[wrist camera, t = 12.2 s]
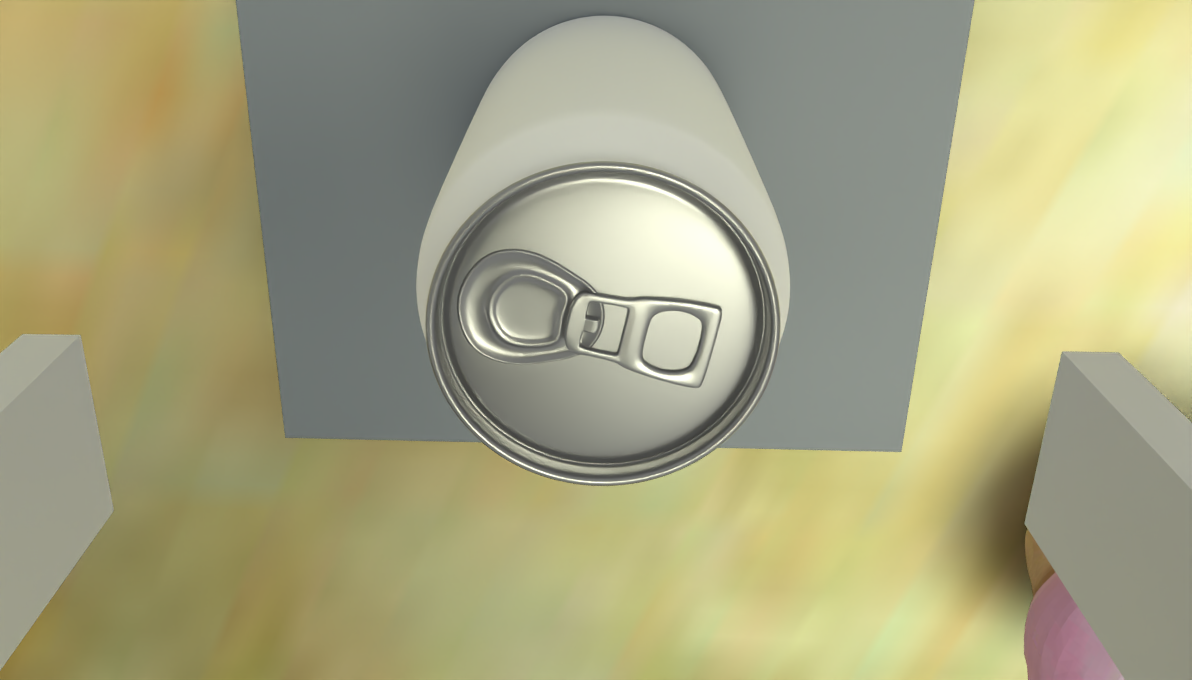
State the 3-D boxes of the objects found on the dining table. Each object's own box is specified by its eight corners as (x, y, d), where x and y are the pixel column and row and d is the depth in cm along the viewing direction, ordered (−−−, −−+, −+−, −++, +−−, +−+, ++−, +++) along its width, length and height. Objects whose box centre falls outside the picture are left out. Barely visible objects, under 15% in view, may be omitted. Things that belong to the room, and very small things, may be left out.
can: (502, -15, 26) (429, 90, 16) (759, 42, 27) (863, 184, 16) (459, 232, 29) (372, 470, 18) (694, 280, 30) (746, 539, 19)
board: (295, 417, 33) (285, 437, 32) (223, -262, 25) (205, -265, 24) (891, 431, 33) (901, 451, 32) (996, -243, 25) (1014, -246, 24)
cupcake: (1288, 546, 35) (1530, 799, 26) (1039, 671, 37) (1181, 944, 28) (1171, 341, 32) (1398, 545, 23) (909, 490, 34) (1020, 731, 25)
